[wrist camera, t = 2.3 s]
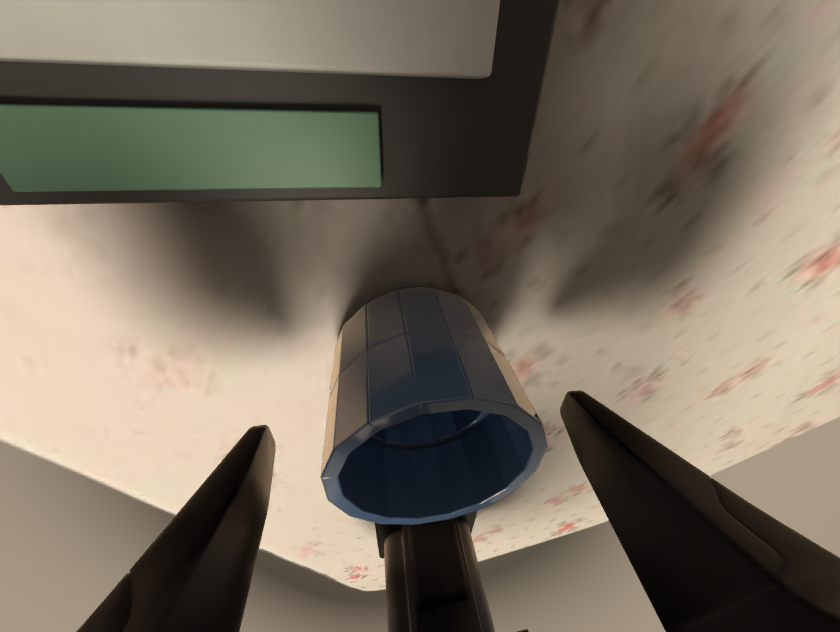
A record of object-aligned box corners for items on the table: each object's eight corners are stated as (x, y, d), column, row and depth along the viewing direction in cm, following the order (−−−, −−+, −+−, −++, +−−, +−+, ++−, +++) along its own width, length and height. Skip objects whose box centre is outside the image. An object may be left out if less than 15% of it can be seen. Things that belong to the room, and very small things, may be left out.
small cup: (474, 388, 14) (520, 508, 10) (345, 401, 13) (338, 537, 9) (494, 275, 11) (576, 386, 7) (325, 285, 10) (300, 416, 6)
